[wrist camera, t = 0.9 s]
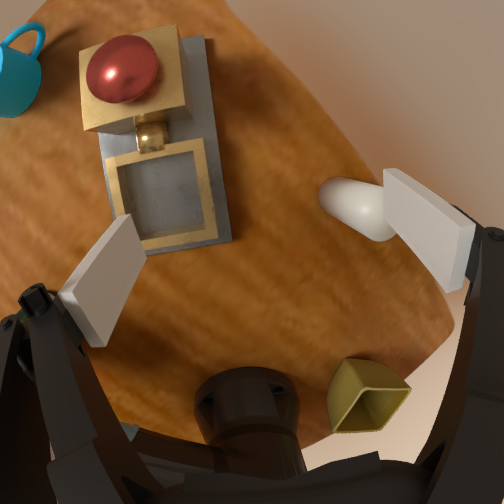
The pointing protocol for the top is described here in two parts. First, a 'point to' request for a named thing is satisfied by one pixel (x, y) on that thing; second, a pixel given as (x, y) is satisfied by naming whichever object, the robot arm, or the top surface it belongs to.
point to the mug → (19, 73)
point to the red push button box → (157, 136)
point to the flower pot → (364, 396)
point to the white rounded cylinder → (356, 206)
